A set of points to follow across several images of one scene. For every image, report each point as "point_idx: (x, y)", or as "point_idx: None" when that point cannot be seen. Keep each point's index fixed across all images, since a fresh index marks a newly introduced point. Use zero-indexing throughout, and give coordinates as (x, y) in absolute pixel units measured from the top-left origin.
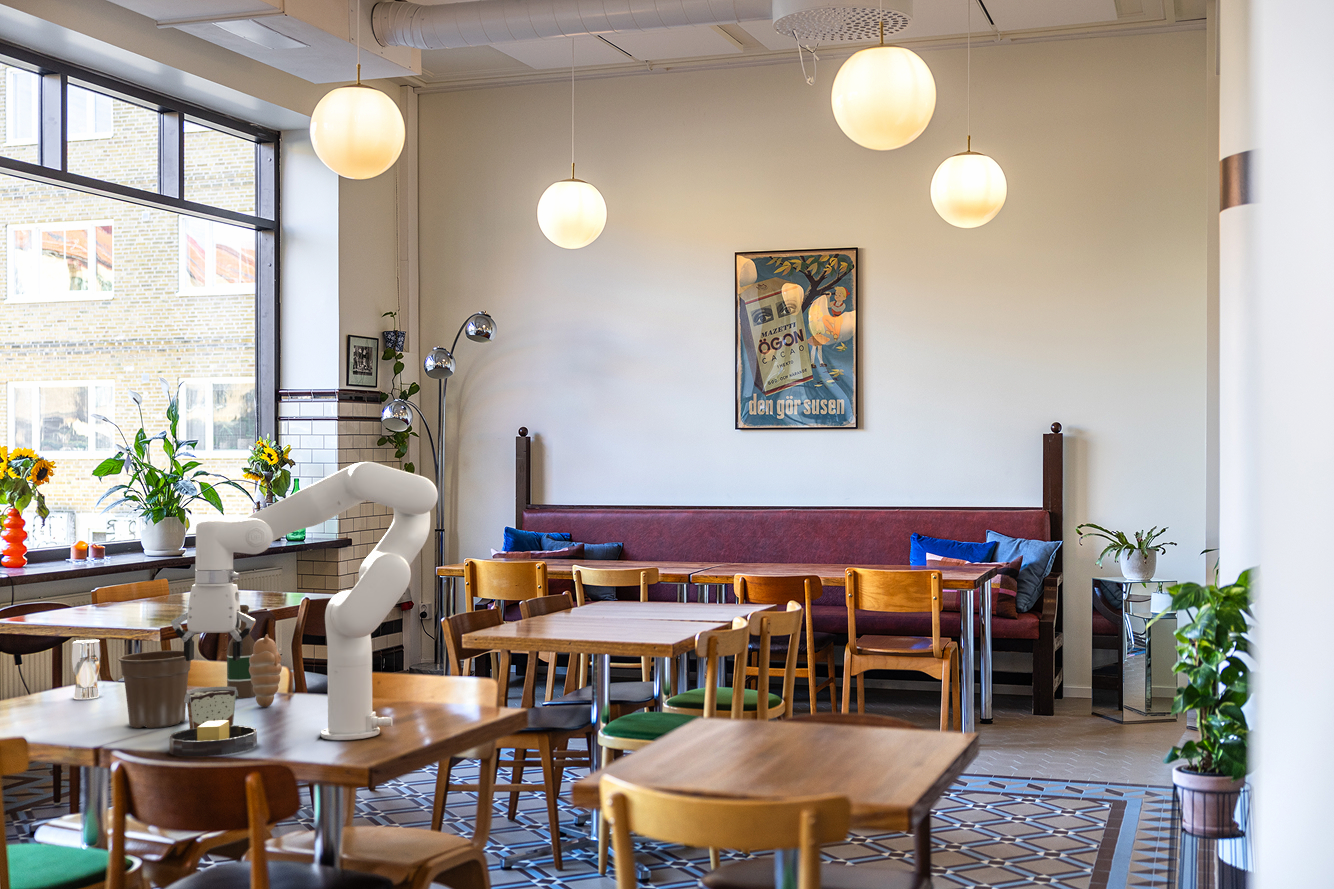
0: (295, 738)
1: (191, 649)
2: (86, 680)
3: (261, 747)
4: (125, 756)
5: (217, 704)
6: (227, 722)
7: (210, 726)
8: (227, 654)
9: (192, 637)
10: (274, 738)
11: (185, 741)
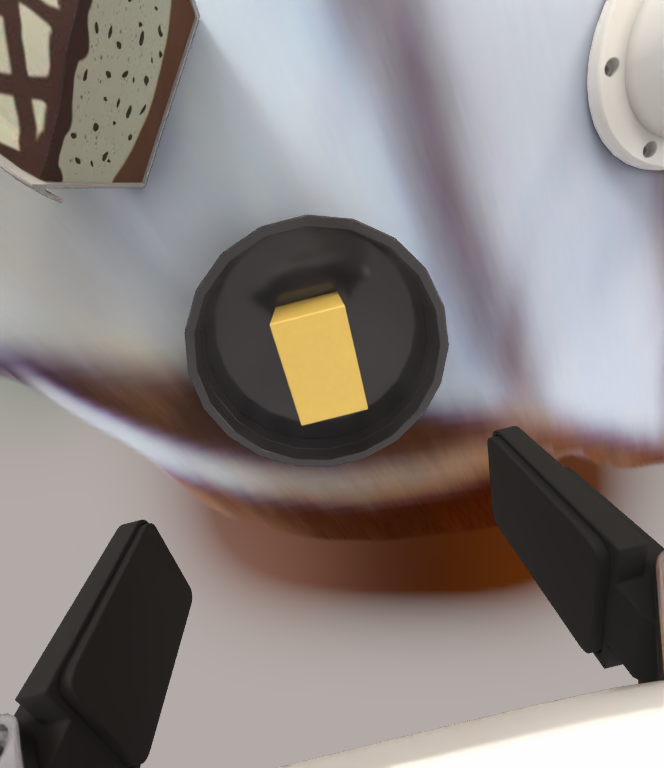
0: (499, 129)
1: (146, 644)
2: None
3: (438, 291)
4: (131, 439)
5: (120, 27)
6: (348, 324)
7: (341, 415)
8: None
9: (25, 757)
10: (424, 136)
11: (305, 465)
